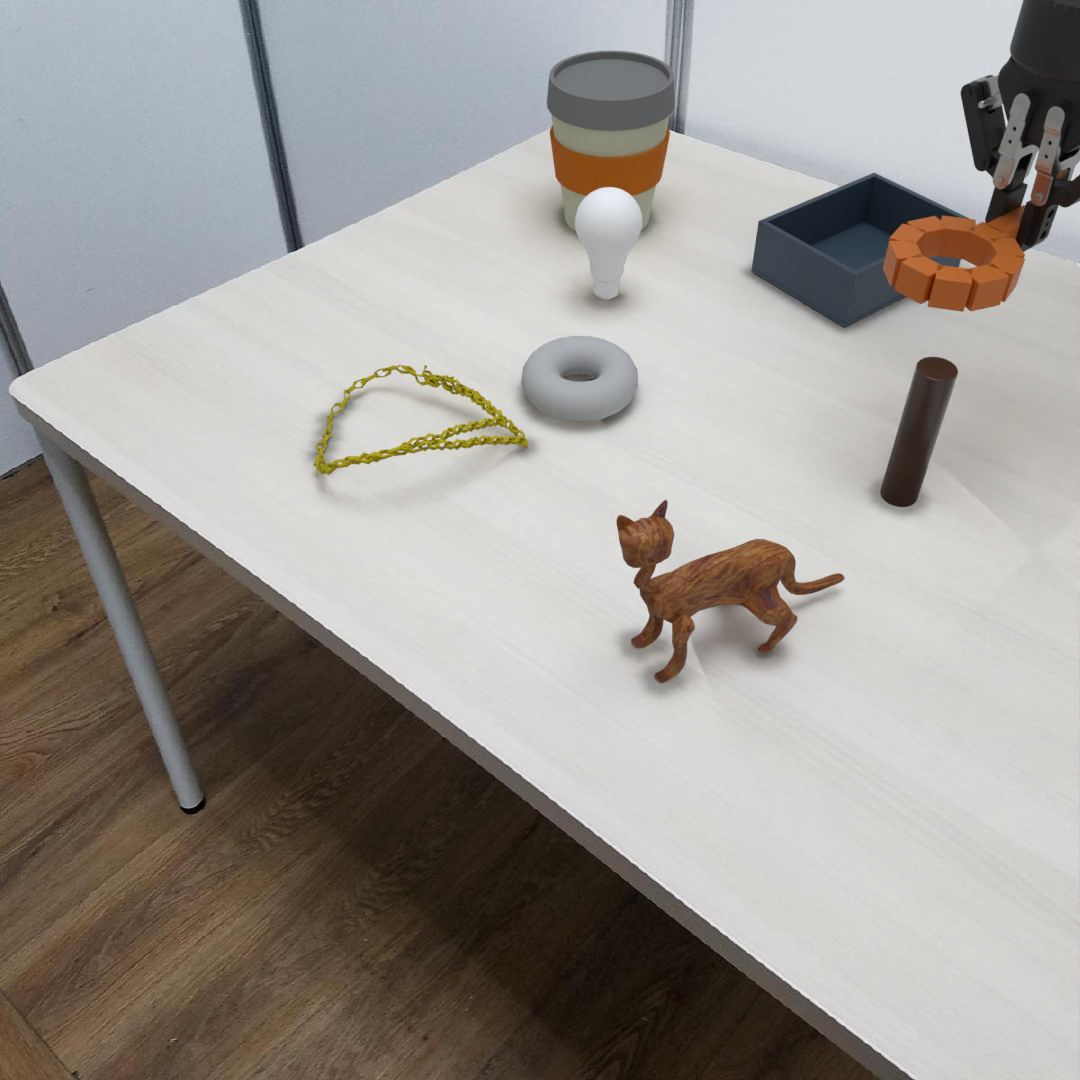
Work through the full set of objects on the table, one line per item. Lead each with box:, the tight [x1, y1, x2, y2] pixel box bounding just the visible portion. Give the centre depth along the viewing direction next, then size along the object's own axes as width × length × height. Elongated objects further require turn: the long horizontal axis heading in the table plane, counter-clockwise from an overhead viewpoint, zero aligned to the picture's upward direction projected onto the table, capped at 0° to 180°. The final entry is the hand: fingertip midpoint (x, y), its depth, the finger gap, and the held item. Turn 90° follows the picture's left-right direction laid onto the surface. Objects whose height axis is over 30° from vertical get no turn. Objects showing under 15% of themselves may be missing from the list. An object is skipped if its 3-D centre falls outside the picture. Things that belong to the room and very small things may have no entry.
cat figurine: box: [616, 499, 846, 684], centre depth 68 cm, size 18×7×14 cm, turn 114°
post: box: [879, 356, 959, 508], centre depth 78 cm, size 3×3×12 cm
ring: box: [883, 204, 1026, 313], centre depth 74 cm, size 13×9×2 cm
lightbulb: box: [575, 187, 642, 301], centre depth 99 cm, size 6×6×11 cm
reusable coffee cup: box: [546, 50, 676, 233], centre depth 108 cm, size 12×13×15 cm
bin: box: [751, 172, 971, 328], centre depth 103 cm, size 16×12×6 cm
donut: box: [520, 335, 639, 423], centre depth 91 cm, size 10×4×10 cm
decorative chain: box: [312, 364, 529, 476], centre depth 86 cm, size 16×15×5 cm
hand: (1011, 240), depth 77 cm, fingers closed on ring, 1 cm apart
